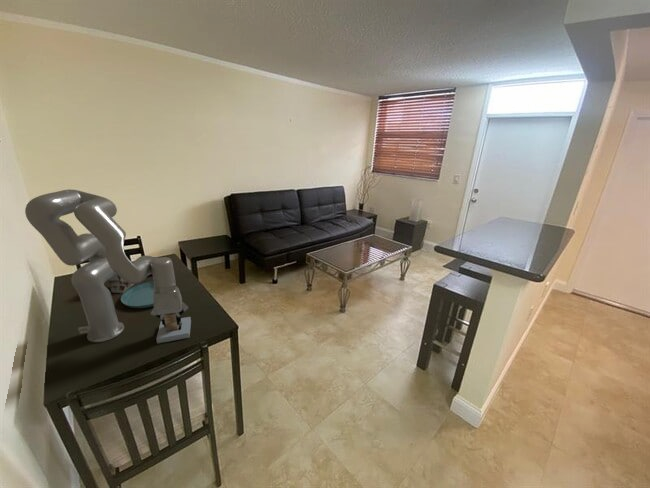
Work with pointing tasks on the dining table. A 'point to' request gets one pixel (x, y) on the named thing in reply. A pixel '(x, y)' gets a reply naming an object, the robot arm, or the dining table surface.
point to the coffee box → (118, 284)
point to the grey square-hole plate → (174, 335)
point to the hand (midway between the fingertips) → (172, 324)
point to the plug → (171, 322)
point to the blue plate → (139, 296)
